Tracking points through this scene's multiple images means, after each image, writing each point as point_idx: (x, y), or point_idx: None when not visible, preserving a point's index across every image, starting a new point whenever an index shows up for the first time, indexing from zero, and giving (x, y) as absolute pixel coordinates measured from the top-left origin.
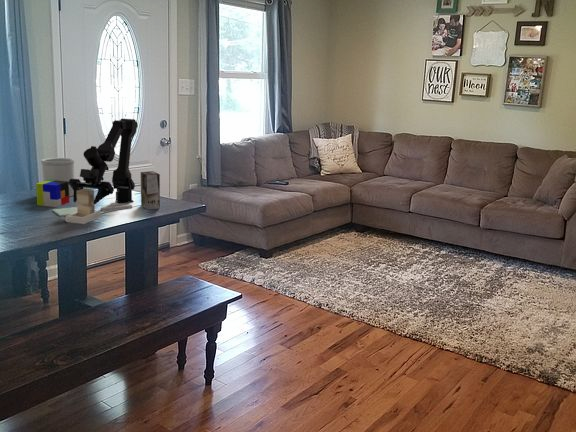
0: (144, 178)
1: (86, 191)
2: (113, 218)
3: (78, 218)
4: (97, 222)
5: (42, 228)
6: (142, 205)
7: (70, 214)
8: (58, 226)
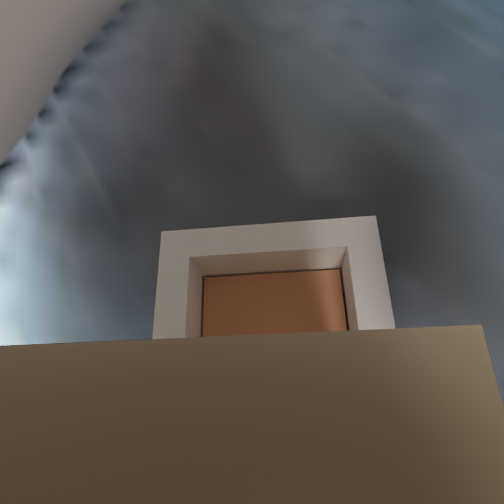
0: None
1: (23, 432)
2: None
3: (224, 232)
4: None
5: (385, 51)
6: None
7: (375, 291)
8: (322, 124)
